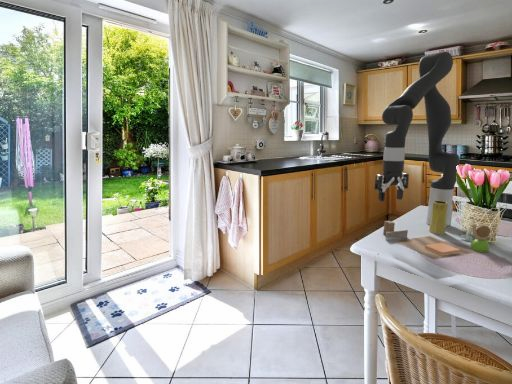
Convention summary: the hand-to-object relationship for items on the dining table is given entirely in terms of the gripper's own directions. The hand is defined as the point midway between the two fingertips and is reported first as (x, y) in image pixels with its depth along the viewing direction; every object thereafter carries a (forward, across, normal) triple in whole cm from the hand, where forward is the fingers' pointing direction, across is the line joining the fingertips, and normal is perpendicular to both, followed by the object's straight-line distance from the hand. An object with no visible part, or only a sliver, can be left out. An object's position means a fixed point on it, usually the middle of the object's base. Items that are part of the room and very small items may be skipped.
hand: (390, 200), depth 125 cm
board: (+16, -6, +16) cm, 23 cm away
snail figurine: (+16, -19, +24) cm, 34 cm away
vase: (+16, -22, +4) cm, 27 cm away
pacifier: (+16, -25, +13) cm, 33 cm away
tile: (+14, -6, +17) cm, 22 cm away
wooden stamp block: (+16, +1, +2) cm, 16 cm away
